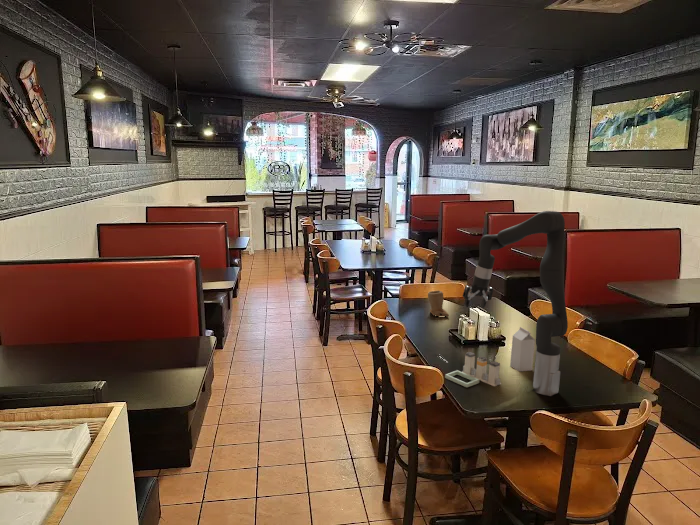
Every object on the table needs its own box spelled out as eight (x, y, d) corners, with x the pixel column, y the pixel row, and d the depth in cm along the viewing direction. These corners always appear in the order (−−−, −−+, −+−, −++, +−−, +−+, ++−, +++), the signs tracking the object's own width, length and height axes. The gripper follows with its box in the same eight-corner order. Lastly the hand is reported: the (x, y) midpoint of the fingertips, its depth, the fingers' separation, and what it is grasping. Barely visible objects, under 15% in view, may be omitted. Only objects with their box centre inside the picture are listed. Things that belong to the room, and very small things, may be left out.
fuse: (485, 377, 222) (487, 358, 221) (481, 379, 221) (482, 359, 219) (480, 375, 225) (481, 356, 223) (475, 377, 223) (477, 357, 221)
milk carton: (518, 372, 233) (522, 332, 230) (509, 366, 240) (513, 327, 237) (532, 370, 235) (535, 331, 232) (523, 364, 242) (526, 326, 238)
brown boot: (425, 311, 326) (426, 288, 323) (443, 311, 327) (445, 288, 324) (429, 318, 311) (431, 294, 309) (449, 318, 312) (450, 294, 309)
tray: (478, 386, 218) (479, 379, 217) (466, 390, 213) (467, 384, 212) (457, 376, 227) (457, 370, 226) (444, 380, 222) (445, 374, 221)
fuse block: (501, 386, 217) (503, 363, 215) (494, 389, 214) (496, 366, 212) (467, 372, 232) (469, 350, 230) (460, 375, 229) (461, 352, 226)
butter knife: (438, 352, 255) (433, 352, 254) (465, 374, 230) (460, 374, 229) (438, 353, 256) (433, 353, 255) (465, 375, 230) (459, 375, 229)
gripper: (472, 277, 234) (464, 309, 240) (500, 279, 239) (491, 310, 244) (465, 271, 241) (457, 302, 246) (491, 273, 245) (483, 304, 250)
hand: (474, 306), depth 245 cm, fingers open, 8 cm apart
